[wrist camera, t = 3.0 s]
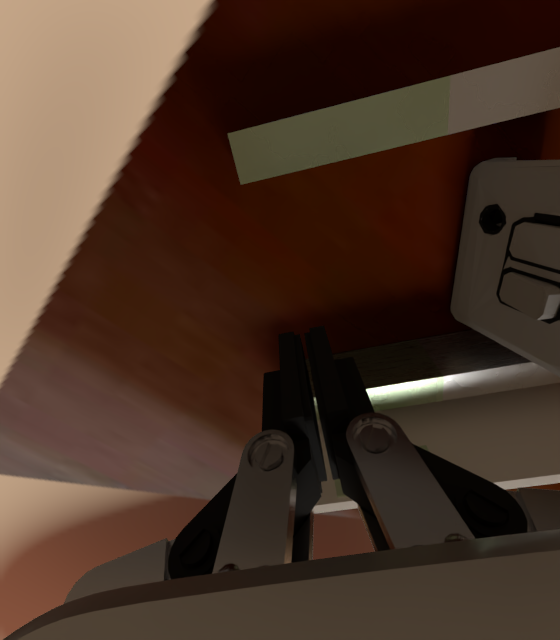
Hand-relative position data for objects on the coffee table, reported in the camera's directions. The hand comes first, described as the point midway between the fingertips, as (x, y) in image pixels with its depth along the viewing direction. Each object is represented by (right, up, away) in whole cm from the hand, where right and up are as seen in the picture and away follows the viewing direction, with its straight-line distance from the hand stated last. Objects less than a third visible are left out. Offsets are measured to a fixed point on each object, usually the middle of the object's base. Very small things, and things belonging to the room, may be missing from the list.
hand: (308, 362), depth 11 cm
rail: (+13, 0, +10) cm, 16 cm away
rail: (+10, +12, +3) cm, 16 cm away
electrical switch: (+12, +7, +7) cm, 15 cm away
